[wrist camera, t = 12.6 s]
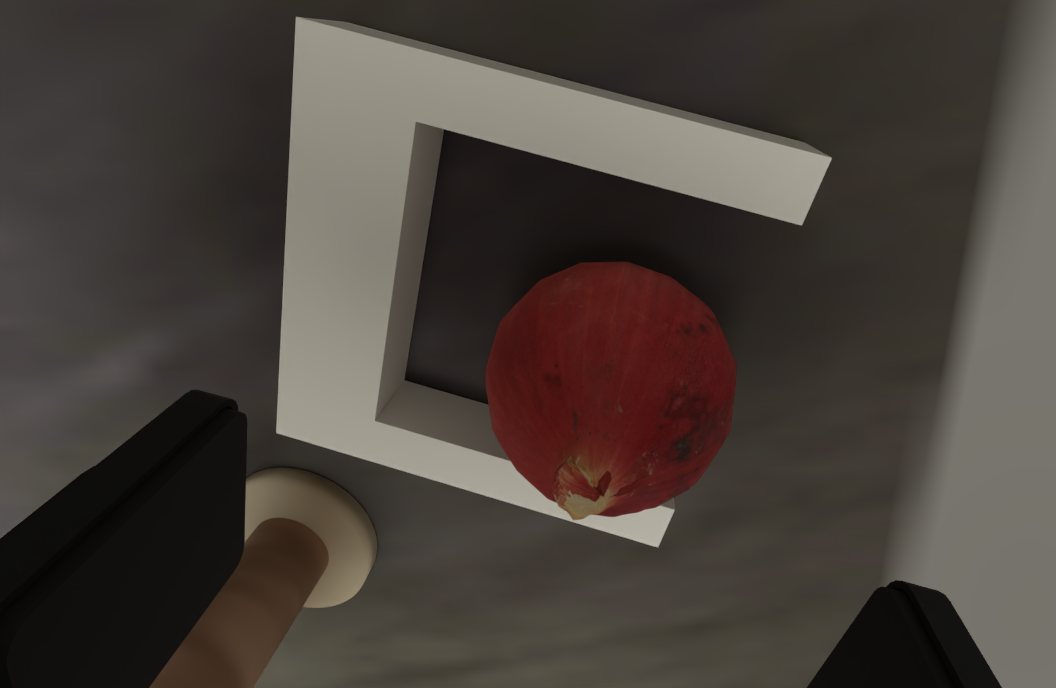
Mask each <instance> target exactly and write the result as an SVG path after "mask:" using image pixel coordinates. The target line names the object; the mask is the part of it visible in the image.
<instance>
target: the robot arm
mask: <svg viewBox="0 0 1056 688" xmlns="http://www.w3.org/2000/svg"><path fill="white" fill-rule="evenodd" d="M246 454H247V417H246V415H245V414H244V413H242V412H238V405H237V403H236V401H234V400H232V399H229V398H226V397H222V396H218V395H214V394H211V393H207V392H203V391H200V390H191V391H189V392H188V393H186V394H185V395H183V396H182V397H181V398H180V399H178V400H177V401H176V402H175V403H173V404H172V405H171V406H170V407H168V408H167V409H166V410H165V411H163V412H162V413H161V414H160V415H158V416H157V417H156V418H155V419H153V420H152V421H151V422H150V423H148V424H147V425H146V426H145V427H143V428H142V429H141V430H140V431H138V432H137V433H136V434H135V435H133V436H132V437H131V438H130V439H128V440H127V441H126V442H125V443H124V444H122V445H121V446H120V447H119V448H117V449H116V450H115V451H114V452H112V453H111V454H110V455H109V456H107V457H106V458H105V459H104V460H102V461H101V462H100V463H99V464H97V465H96V466H93V467H92V468H90V469H89V470H87V471H85V472H84V473H82V474H81V475H80V476H78V477H77V478H76V479H75V480H73V481H72V482H71V483H70V484H68V485H67V486H66V487H65V488H63V489H62V490H61V491H60V492H58V493H57V494H56V495H55V496H53V497H52V498H51V499H50V500H48V501H47V502H46V503H44V504H43V505H42V506H41V507H39V508H38V509H37V510H36V511H34V512H33V513H32V514H31V515H29V516H28V517H27V518H26V519H24V520H23V521H22V522H21V523H19V524H18V525H17V526H16V527H14V528H13V529H12V530H11V531H9V532H8V533H7V534H6V535H4V536H3V537H2V538H1V539H0V688H149V687H150V686H151V684H152V683H153V682H154V680H155V679H156V678H157V676H158V675H159V674H160V672H161V671H162V669H163V668H164V667H165V665H166V664H167V663H168V661H169V660H170V658H171V657H172V656H173V654H174V653H175V652H176V650H177V649H178V648H179V646H180V645H181V643H182V642H183V641H184V639H185V638H186V637H187V635H188V634H189V633H190V631H191V630H192V628H193V627H194V626H195V624H196V623H197V622H198V620H199V619H200V617H201V616H202V615H203V613H204V612H205V611H206V609H207V608H208V607H209V605H210V604H211V602H212V601H213V600H214V598H215V597H216V596H217V594H218V593H219V591H220V590H221V589H222V587H223V586H224V585H225V583H226V582H227V581H228V579H229V578H230V576H231V575H232V574H233V572H234V571H235V569H236V568H237V566H238V564H239V562H240V560H241V557H242V554H243V551H244V545H245V501H246ZM807 688H1002V687H1001V686H1000V684H999V682H998V680H997V679H996V677H995V675H994V674H993V672H992V670H991V669H990V667H989V665H988V664H987V662H986V660H985V659H984V657H983V655H982V654H981V652H980V651H979V649H978V647H977V646H976V644H975V642H974V641H973V639H972V637H971V635H970V634H969V632H968V630H967V629H966V627H965V625H964V624H963V622H962V620H961V619H960V617H959V615H958V614H957V612H956V610H955V609H954V607H953V605H952V604H951V602H950V601H949V599H948V598H947V597H946V596H945V595H944V594H943V593H941V592H939V591H937V590H933V589H929V588H926V587H922V586H918V585H915V584H911V583H907V582H904V581H897V580H896V581H893V582H891V583H889V585H888V586H887V587H880V588H878V589H876V590H875V591H874V593H873V594H872V595H871V597H870V598H869V600H868V601H867V603H866V604H865V605H864V607H863V608H862V610H861V611H860V613H859V614H858V615H857V617H856V618H855V620H854V621H853V623H852V624H851V625H850V627H849V628H848V630H847V631H846V633H845V634H844V635H843V637H842V638H841V640H840V641H839V643H838V644H837V645H836V647H835V648H834V650H833V651H832V653H831V654H830V655H829V657H828V658H827V660H826V661H825V663H824V664H823V665H822V667H821V668H820V670H819V671H818V673H817V674H816V675H815V677H814V678H813V680H812V681H811V683H810V684H809V685H808V687H807Z"/></svg>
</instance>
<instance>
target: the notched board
mask: <svg viewBox="0 0 1056 688" xmlns="http://www.w3.org/2000/svg"><path fill="white" fill-rule="evenodd" d="M444 129H445V130H449V131H453V132H456V133H460V134H464V135H467V136H471V137H475V138H479V139H482V140H486V141H490V142H493V143H497V144H501V145H505V146H508V147H512V148H516V149H519V150H523V151H527V152H530V153H534V154H538V155H542V156H545V157H549V158H553V159H556V160H560V161H564V162H568V163H571V164H575V165H579V166H582V167H586V168H590V169H594V170H597V171H601V172H605V173H608V174H612V175H616V176H619V177H623V178H627V179H631V180H634V181H638V182H642V183H645V184H649V185H653V186H657V187H660V188H664V189H668V190H671V191H675V192H679V193H683V194H686V195H690V196H694V197H697V198H701V199H705V200H708V201H712V202H716V203H720V204H723V205H727V206H731V207H734V208H738V209H742V210H746V211H749V212H753V213H757V214H760V215H764V216H768V217H772V218H775V219H779V220H783V221H786V222H790V223H794V224H797V225H801V226H802V224H803V222H804V220H805V217H806V215H807V213H808V211H809V208H810V206H811V204H812V202H813V199H814V197H815V195H816V193H817V191H818V188H819V186H820V184H821V182H822V179H823V177H824V175H825V173H826V170H827V168H828V166H829V164H830V161H831V159H832V158H831V157H829V156H828V155H826V154H824V153H822V152H821V151H819V150H817V149H815V148H813V147H812V146H810V145H808V144H806V143H805V142H801V141H797V140H793V139H790V138H786V137H782V136H778V135H774V134H771V133H767V132H763V131H759V130H755V129H751V128H748V127H744V126H740V125H736V124H732V123H729V122H725V121H721V120H717V119H713V118H710V117H706V116H702V115H698V114H694V113H691V112H687V111H683V110H679V109H675V108H672V107H668V106H664V105H660V104H656V103H653V102H649V101H645V100H641V99H637V98H633V97H630V96H626V95H622V94H618V93H614V92H611V91H607V90H603V89H599V88H595V87H592V86H588V85H584V84H580V83H576V82H573V81H569V80H565V79H561V78H557V77H554V76H550V75H546V74H542V73H538V72H534V71H531V70H527V69H523V68H519V67H515V66H512V65H508V64H504V63H500V62H496V61H493V60H489V59H485V58H481V57H477V56H474V55H470V54H466V53H462V52H458V51H455V50H451V49H447V48H443V47H439V46H435V45H432V44H428V43H424V42H420V41H416V40H413V39H409V38H405V37H401V36H397V35H394V34H390V33H386V32H382V31H378V30H375V29H371V28H367V27H363V26H359V25H356V24H352V23H348V22H343V21H333V20H323V19H313V18H303V17H296V25H295V47H294V68H293V89H292V110H291V131H290V152H289V173H288V194H287V215H286V236H285V257H284V278H283V299H282V320H281V341H280V362H279V383H278V404H277V425H276V433H278V434H281V435H285V436H288V437H291V438H295V439H298V440H301V441H305V442H308V443H311V444H315V445H318V446H321V447H325V448H328V449H331V450H335V451H338V452H341V453H345V454H348V455H351V456H355V457H358V458H361V459H365V460H368V461H371V462H375V463H378V464H381V465H385V466H388V467H391V468H395V469H398V470H401V471H405V472H408V473H411V474H415V475H418V476H421V477H425V478H428V479H431V480H435V481H438V482H441V483H445V484H448V485H451V486H455V487H458V488H461V489H465V490H468V491H471V492H475V493H478V494H481V495H485V496H488V497H491V498H495V499H498V500H501V501H505V502H508V503H511V504H515V505H518V506H521V507H525V508H528V509H531V510H535V511H538V512H541V513H545V514H548V515H551V516H555V517H558V518H561V519H565V520H568V521H571V522H575V523H578V524H581V525H585V526H588V527H591V528H595V529H598V530H601V531H605V532H608V533H611V534H615V535H618V536H621V537H625V538H628V539H631V540H635V541H638V542H641V543H645V544H648V545H651V546H655V547H658V546H659V544H660V542H661V540H662V537H663V535H664V533H665V531H666V528H667V526H668V524H669V522H670V519H671V517H672V515H673V513H674V511H675V506H674V498H672V499H671V500H669V501H667V502H665V503H663V504H662V505H660V506H658V507H656V508H652V509H646V510H643V511H641V512H638V513H632V514H626V515H621V516H617V517H606V516H599V515H589V516H587V517H586V518H584V519H581V520H573V519H572V518H571V517H570V515H569V514H568V513H567V512H566V511H565V510H563V509H562V508H560V507H559V506H558V504H557V503H556V502H553V501H551V500H549V499H547V498H546V497H545V496H544V495H543V494H542V493H541V492H539V491H538V490H537V489H536V488H535V487H534V486H533V485H532V484H531V483H530V482H528V481H527V480H526V479H525V478H524V477H523V476H522V475H521V474H520V473H519V472H518V471H517V470H516V469H515V467H514V466H513V464H512V462H511V461H510V459H509V457H508V456H507V454H506V453H505V451H504V449H503V448H502V446H501V445H500V443H499V441H498V440H497V438H496V436H495V434H494V432H493V430H492V424H491V417H490V411H489V405H488V404H484V403H481V402H478V401H474V400H471V399H467V398H464V397H460V396H457V395H454V394H450V393H447V392H443V391H440V390H436V389H433V388H430V387H426V386H423V385H419V384H416V383H413V382H409V381H406V380H405V374H406V367H407V361H408V355H409V348H410V342H411V336H412V329H413V323H414V317H415V310H416V304H417V298H418V291H419V285H420V279H421V272H422V266H423V260H424V253H425V247H426V241H427V234H428V228H429V222H430V216H431V209H432V203H433V197H434V190H435V184H436V178H437V171H438V165H439V159H440V152H441V146H442V140H443V133H444Z"/></svg>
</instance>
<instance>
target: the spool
mask: <svg viewBox="0 0 1056 688" xmlns="http://www.w3.org/2000/svg"><path fill="white" fill-rule="evenodd" d="M377 547H378V545H377V537H376V533H375V529H374V527H373V524H372V522H371V520H370V518H369V517H368V515H367V513H366V512H365V511H364V509H363V508H362V506H361V505H360V504H359V503H358V502H357V501H356V500H355V499H354V498H353V497H352V496H351V495H350V494H349V493H348V492H347V491H345V490H344V489H342V488H341V487H340V486H338V485H337V484H335V483H333V482H332V481H330V480H328V479H326V478H324V477H322V476H320V475H317V474H315V473H312V472H309V471H305V470H301V469H296V468H286V467H278V468H269V469H265V470H261V471H259V472H256V473H254V474H252V475H251V476H249V477H247V478H246V501H245V545H244V551H243V554H242V557H241V560H240V562H239V564H238V566H237V568H236V569H235V571H234V572H233V574H232V575H231V576H230V578H229V579H228V581H227V582H226V583H225V585H224V586H223V587H222V589H221V590H220V591H219V593H218V594H217V596H216V597H215V598H214V600H213V601H212V602H211V604H210V605H209V607H208V608H207V609H206V611H205V612H204V613H203V615H202V616H201V617H200V619H199V620H198V622H197V623H196V624H195V626H194V627H193V628H192V630H191V631H190V633H189V634H188V635H187V637H186V638H185V639H184V641H183V642H182V643H181V645H180V646H179V648H178V649H177V650H176V652H175V653H174V654H173V656H172V657H171V658H170V660H169V661H168V663H167V664H166V665H165V667H164V668H163V669H162V671H161V672H160V674H159V675H158V676H157V678H156V679H155V680H154V682H153V683H152V684H151V686H150V687H149V688H253V687H254V685H255V684H256V682H257V680H258V679H259V677H260V675H261V674H262V672H263V671H264V669H265V667H266V666H267V664H268V662H269V661H270V659H271V657H272V656H273V654H274V653H275V651H276V649H277V648H278V646H279V644H280V643H281V641H282V640H283V638H284V636H285V635H286V633H287V631H288V630H289V628H290V627H291V625H292V623H293V622H294V620H295V618H296V617H297V615H298V614H299V612H300V610H301V609H302V607H310V608H324V607H331V606H335V605H338V604H341V603H343V602H345V601H347V600H349V599H350V598H352V597H353V596H354V595H355V594H356V593H357V592H358V591H359V590H360V588H361V587H362V585H363V583H364V582H365V580H366V578H367V576H368V574H369V572H370V570H371V568H372V566H373V564H374V562H375V560H376V556H377Z"/></svg>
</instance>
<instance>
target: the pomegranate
mask: <svg viewBox="0 0 1056 688" xmlns="http://www.w3.org/2000/svg"><path fill="white" fill-rule="evenodd" d="M736 372H737V364H736V361H735V359H734V357H733V354H732V352H731V350H730V347H729V345H728V343H727V341H726V338H725V336H724V334H723V331H722V329H721V327H720V325H719V322H718V320H717V318H716V316H715V315H714V313H713V312H712V310H711V309H710V307H709V306H708V305H707V304H705V303H704V302H703V301H702V300H700V299H699V298H698V297H696V296H695V295H694V294H693V293H691V292H690V291H689V290H687V289H686V288H685V287H683V286H682V285H681V284H680V283H678V282H677V281H676V280H674V279H673V278H672V277H670V276H667V275H665V274H662V273H659V272H656V271H653V270H650V269H647V268H644V267H641V266H639V265H636V264H633V263H630V262H585V263H579V264H577V265H574V266H572V267H570V268H567V269H565V270H562V271H560V272H558V273H555V274H553V275H551V276H548V277H546V278H544V279H541V280H540V281H539V282H538V283H537V284H536V285H535V286H534V287H532V288H531V289H530V290H529V291H528V293H527V294H526V295H525V296H524V297H523V298H522V299H521V300H519V301H518V302H517V303H516V304H515V305H514V306H513V307H512V308H511V310H510V311H509V312H508V313H507V314H506V315H505V317H504V318H503V319H502V320H501V321H500V323H499V326H498V329H497V332H496V336H495V339H494V342H493V345H492V349H491V352H490V355H489V358H488V362H487V368H486V374H485V384H486V391H487V397H488V404H489V411H490V417H491V424H492V430H493V432H494V434H495V436H496V438H497V440H498V441H499V443H500V445H501V446H502V448H503V449H504V451H505V453H506V454H507V456H508V457H509V459H510V461H511V462H512V464H513V466H514V467H515V469H516V470H517V471H518V472H519V473H520V474H521V475H522V476H523V477H524V478H525V479H526V480H527V481H528V482H530V483H531V484H532V485H533V486H534V487H535V488H536V489H537V490H538V491H539V492H541V493H542V494H543V495H544V496H545V497H546V498H547V499H549V500H551V501H553V502H556V503H557V504H558V506H559V507H560V508H562V509H563V510H565V511H566V512H567V513H568V514H569V515H570V517H571V518H572V519H573V520H581V519H584V518H586V517H587V516H589V515H599V516H606V517H617V516H621V515H626V514H632V513H638V512H641V511H643V510H646V509H652V508H656V507H658V506H660V505H662V504H663V503H665V502H667V501H669V500H671V499H672V498H674V497H676V496H678V495H680V494H681V493H683V492H685V491H687V490H688V489H689V488H691V487H692V486H693V485H694V484H695V483H696V482H697V481H698V480H699V479H700V477H701V476H702V474H703V473H704V471H705V470H706V468H707V467H708V465H709V464H710V462H711V461H712V460H713V458H714V457H715V455H716V454H717V452H718V451H719V449H720V448H721V446H722V445H723V443H724V441H725V439H726V437H727V436H728V434H729V432H730V428H731V420H732V411H733V403H734V394H735V386H736Z"/></svg>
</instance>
